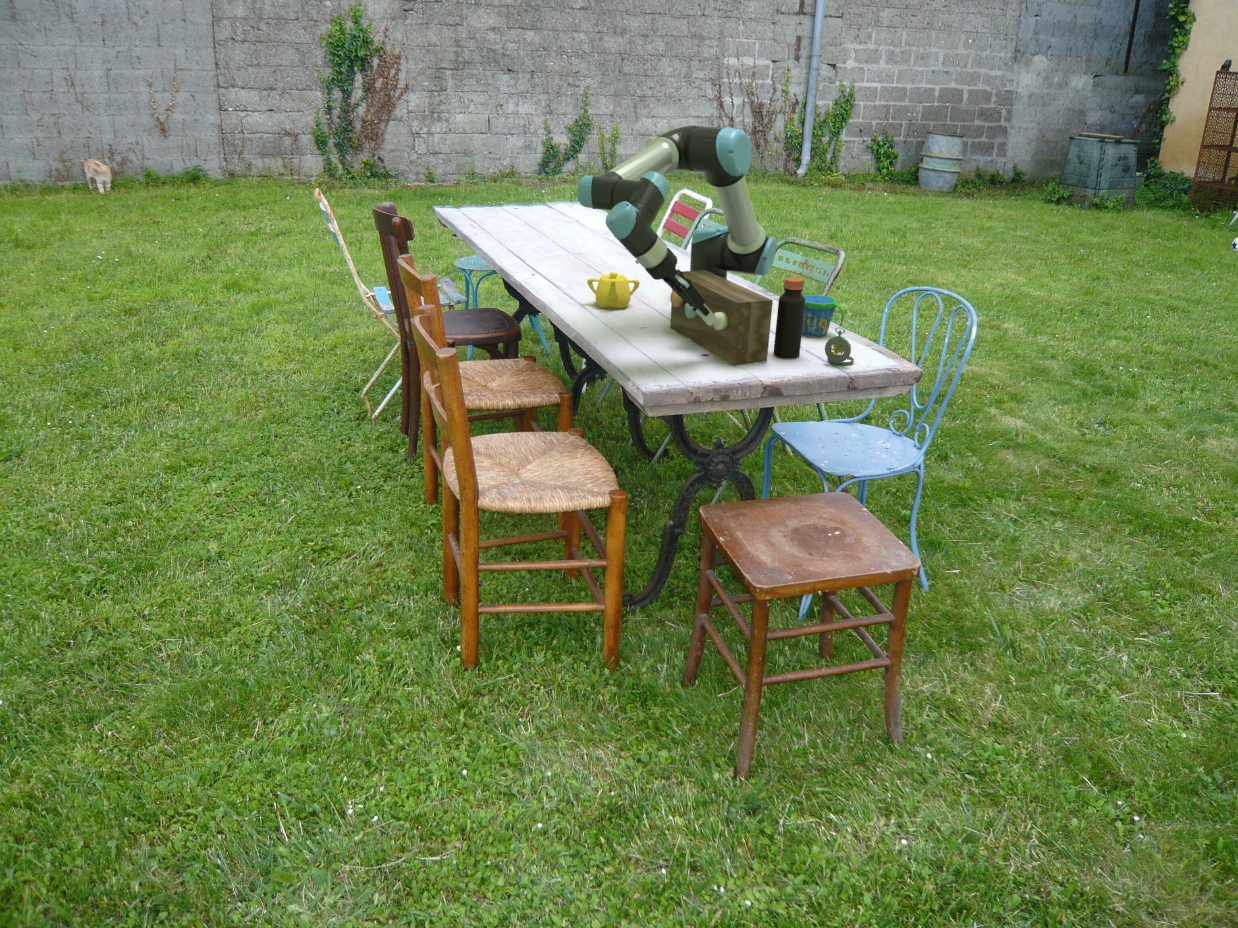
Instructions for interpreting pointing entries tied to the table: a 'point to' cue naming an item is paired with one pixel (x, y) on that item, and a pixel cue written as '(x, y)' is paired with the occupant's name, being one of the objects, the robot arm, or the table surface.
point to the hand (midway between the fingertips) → (712, 321)
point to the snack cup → (819, 314)
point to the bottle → (790, 319)
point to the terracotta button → (676, 300)
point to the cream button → (720, 321)
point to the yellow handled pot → (613, 290)
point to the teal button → (690, 312)
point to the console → (744, 314)
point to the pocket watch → (838, 349)
